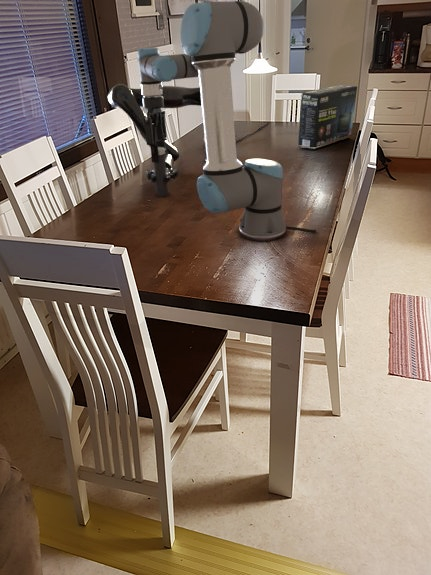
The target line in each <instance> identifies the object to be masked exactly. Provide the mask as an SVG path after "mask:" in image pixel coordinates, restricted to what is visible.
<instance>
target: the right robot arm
mask: <svg viewBox="0 0 431 575" xmlns="http://www.w3.org/2000/svg"><path fill="white" fill-rule="evenodd" d="M264 22H265V21H264V19H263V15H262V13H261V12H260V10H258V8H257V7H256V6H255V5H253V4H252V3H250V2H248V1H244V0H235V1H202V2H201V1H200V2H194V3H192V4H189V6H187V8H186V9H185V11H184V13H183V16H182V18H181V22H180V34H179V36H180V44H181V47H182V51H183V53H179V54H167V55H166V54H165V55H161V54H160V50H159V48H158V47H141V48H138V50H137V63H138V72H139V80H140V89H141V90H142V95H143V96H144V97H143V98H142V99H143V107H142V108H144V109H145V110H146V117H144V118H143V120H144V124H145V133H146V141H145V143H146V142H147V143H146V145H147V146H149V145H150V146H149V148H150V147H151V148H150V155H151V157H150V158H151V163H152V164H153V163H159V154H158V147H163V148H164V149H165V144H164V141H167V142H168V139H167V137H168V134H167V123H166V111H165V110H162V109H163V108H162V107H163V106H164V101H163V96H161V95H162V94H163V91H162V89H163V86H164V85H163V83H168V82H172V81H173V80H174V81H175V80H181V79H182V80H183V79H190V78H191V79H192V78H198V81H199V82H198V83H199V87H200V93H201V103H202V106H201V111H202V112H201V114H202V122H203V134H204V133H205V141H204V144H205V143H206V154H207V162H205V163H204V165H203V166H202V174H201V175H200V176H199V177H197V179H196V191H197V193H198V197H199V200H200V202H201V204H202V205H203V207H204V208H205V209H206V210H207V211H208V212H209V213H211V214H213V215H217V214H221V213H224V214H225V213H228V212H230V211H235V210H239V209H240V210H241V209H244V211H243V213H242V216H241V218H240V220H239V226H238V232H239V235H240V236H241V237H242V238H244V239H247V240H250V241H254V242H271V241H277V240H279V239H281V238H283V237H285V235H286V234H287V230H288V231H289V230H291V231H297V232H303V233H304V232H305V233H310V234H311V233H313V234H315V233H317V229H310V228H303V227H298V226H288V225H287V223H286V221H285V216H284V214H283V210H282V200H283V181H284V180H283V179H284V174H283V173H284V172H283V171H284V169H283V166H282V164H280V162H277V161H275V160H270V159H265V158H249V159H246V160H245V161H244V164H243V162H241V160H239V159H238V158H237V157H238V156H237V142H236V140H237V139H235V133H236V127H235V114H234V100H233V98H234V97H233V88H232V86H233V85H232V73H231V72H232V71H231V68H232V65H233V64H234V62H235V61H236V55H237V54H240V55H242V54H243V55H244V54H246V53H248V52H250V51H252V50H254V49H255V48H256V47H258V46H259V44H260V42H261V41H262V39H263V36H264V32H265V23H264ZM156 132H157V137H158V140H159V141H157V145H156ZM164 155H165V154H164ZM165 158H166V155H165Z"/></svg>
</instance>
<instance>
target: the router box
mask: <svg viewBox="0 0 431 575" xmlns="http://www.w3.org/2000/svg"><path fill="white" fill-rule="evenodd" d="M357 93H358V86H356V85H350V84H339V85H338V84H337V85H334V86H328V87H324V88H318V89H314V90H309V91H304V92H301V93H300V109H299V110H300V111H299V124H298V137H297V146H298V145H302V146H307V147H317V146H320V145H323V144H325V143H328V142H331V141H333V140H336V139H338V138H341V137H344V136H347V135H351V136H352V133H353V132H352V131H353V125H354V115H355V109H356V99H357ZM311 151H313V150H312V149H311Z"/></svg>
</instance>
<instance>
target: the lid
mask: <svg viewBox="0 0 431 575" xmlns="http://www.w3.org/2000/svg"><path fill="white" fill-rule="evenodd" d="M158 154H159V155H163V154H165V149H164V148H163V147H158Z"/></svg>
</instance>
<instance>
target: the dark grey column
mask: <svg viewBox="0 0 431 575" xmlns="http://www.w3.org/2000/svg"><path fill="white" fill-rule="evenodd" d="M152 164H153V170H154V174H155V192H156V196H157V197H166V196H168V195H169V189H168V182H166V166H165V155H164V154H163V155H159V163H153V162H152Z"/></svg>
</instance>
